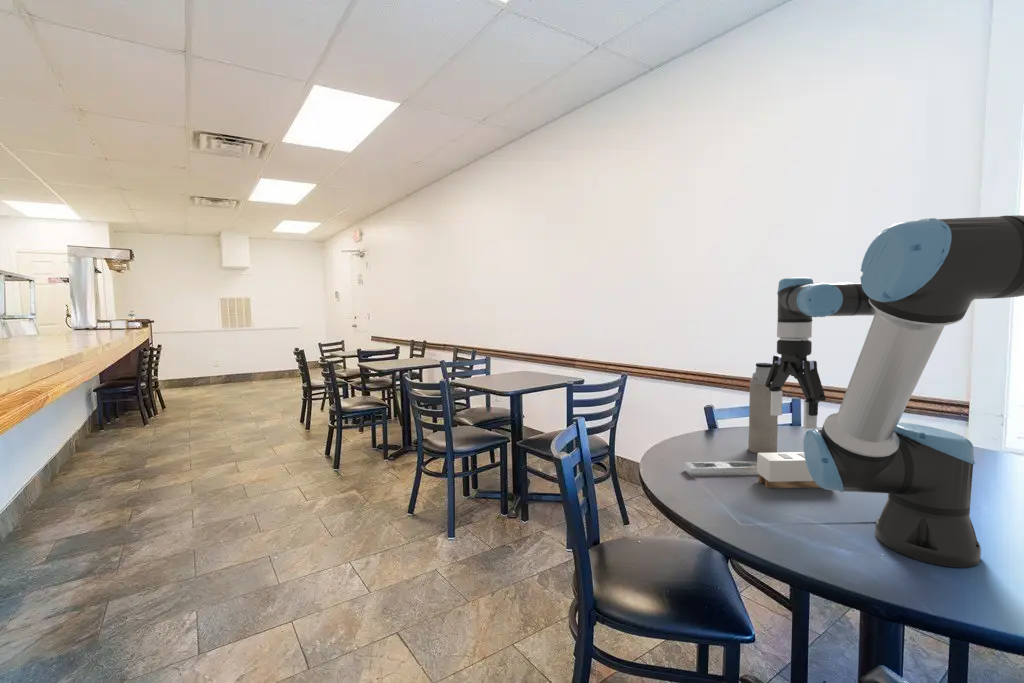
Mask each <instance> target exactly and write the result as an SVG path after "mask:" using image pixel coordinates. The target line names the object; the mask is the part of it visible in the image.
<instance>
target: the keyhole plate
mask: <svg viewBox="0 0 1024 683" xmlns="http://www.w3.org/2000/svg"><path fill="white" fill-rule="evenodd" d="M684 471H685V472H686V474H687V475H688V476H690V478H696V477H697V476H698V477H699V476H701V477H703V476H759V474H758V473H757V460H752V461H751V460H747V461H746V460H745V461H743V460H742V461H740V460H739V461H693V462H692V461H689V462H687V461H685V462H684Z"/></svg>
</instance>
